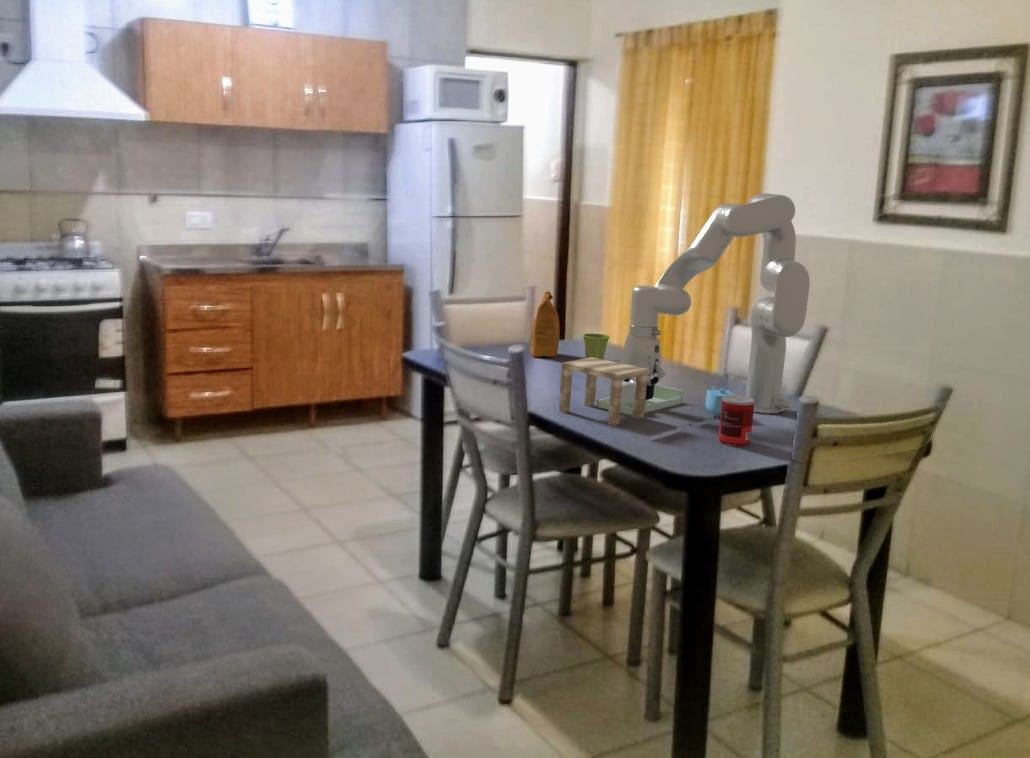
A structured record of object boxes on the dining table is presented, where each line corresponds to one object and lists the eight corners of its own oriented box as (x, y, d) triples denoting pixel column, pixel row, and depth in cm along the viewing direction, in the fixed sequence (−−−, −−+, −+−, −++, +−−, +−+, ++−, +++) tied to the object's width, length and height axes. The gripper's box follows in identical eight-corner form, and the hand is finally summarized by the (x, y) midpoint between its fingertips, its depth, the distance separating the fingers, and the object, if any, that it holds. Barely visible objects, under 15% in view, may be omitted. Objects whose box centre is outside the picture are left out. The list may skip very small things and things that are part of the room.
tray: (682, 405, 275) (683, 390, 274) (633, 418, 257) (634, 402, 256) (646, 397, 282) (647, 382, 282) (596, 409, 265) (597, 393, 264)
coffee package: (557, 352, 346) (561, 290, 341) (558, 359, 334) (562, 295, 329) (529, 351, 346) (533, 289, 341) (529, 357, 334) (532, 293, 329)
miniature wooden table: (643, 421, 256) (647, 368, 253) (614, 429, 246) (618, 374, 243) (588, 407, 267) (592, 357, 264) (558, 414, 257) (562, 362, 255)
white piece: (650, 405, 269) (653, 381, 267) (639, 408, 265) (642, 382, 263) (634, 402, 272) (636, 377, 271) (623, 404, 268) (625, 379, 267)
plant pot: (576, 357, 338) (578, 333, 337) (602, 357, 341) (603, 333, 339) (586, 363, 330) (588, 337, 328) (612, 363, 332) (614, 337, 331)
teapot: (700, 409, 272) (702, 383, 270) (720, 409, 273) (723, 383, 271) (716, 420, 260) (718, 393, 259) (737, 421, 262) (740, 393, 260)
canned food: (745, 438, 244) (749, 395, 241) (753, 447, 236) (758, 403, 234) (714, 437, 243) (719, 394, 241) (722, 446, 236) (726, 401, 233)
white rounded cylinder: (636, 409, 264) (638, 384, 262) (625, 412, 260) (627, 386, 258) (620, 405, 267) (622, 380, 266) (608, 408, 263) (610, 383, 262)
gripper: (677, 335, 261) (672, 400, 265) (624, 326, 273) (620, 389, 276) (662, 338, 256) (656, 404, 260) (609, 328, 267) (604, 392, 271)
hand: (637, 396), depth 268 cm, fingers open, 6 cm apart
